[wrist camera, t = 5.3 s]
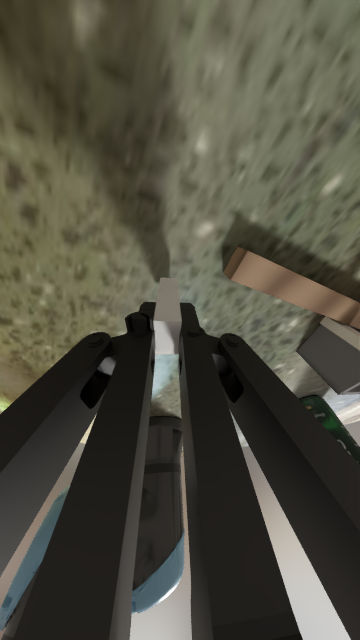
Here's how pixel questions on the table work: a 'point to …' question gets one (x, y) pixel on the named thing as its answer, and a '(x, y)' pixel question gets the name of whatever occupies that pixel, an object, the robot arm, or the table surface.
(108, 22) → the table surface
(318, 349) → the tunnel
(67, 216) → the table surface
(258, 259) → the rod
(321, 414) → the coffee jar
